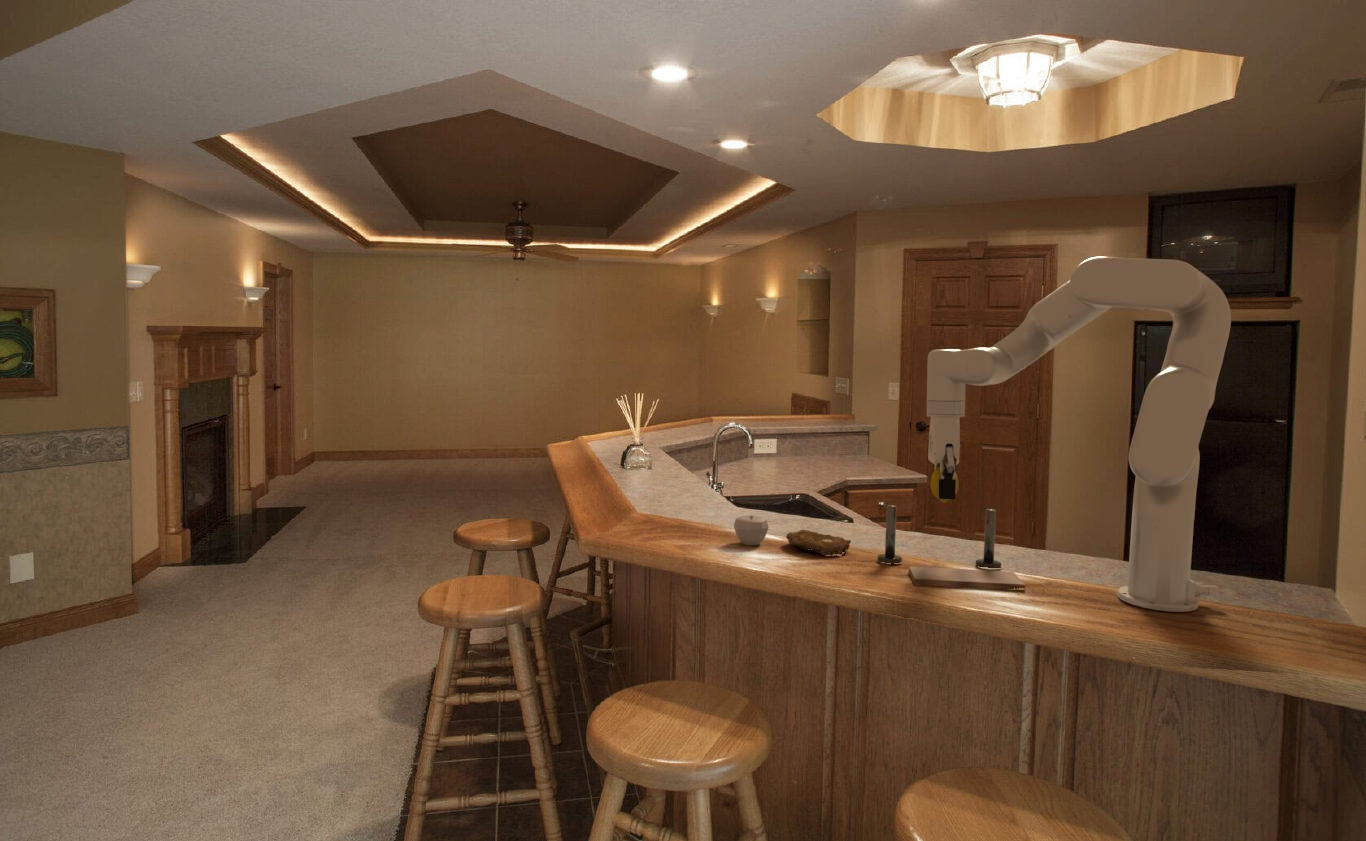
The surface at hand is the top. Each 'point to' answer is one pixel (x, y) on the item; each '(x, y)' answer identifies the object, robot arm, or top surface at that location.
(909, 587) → the top surface
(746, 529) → the apple
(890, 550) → the post far side
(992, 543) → the post arm side
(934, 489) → the lemon
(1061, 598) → the top surface
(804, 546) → the decorative rock
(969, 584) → the walnut board
